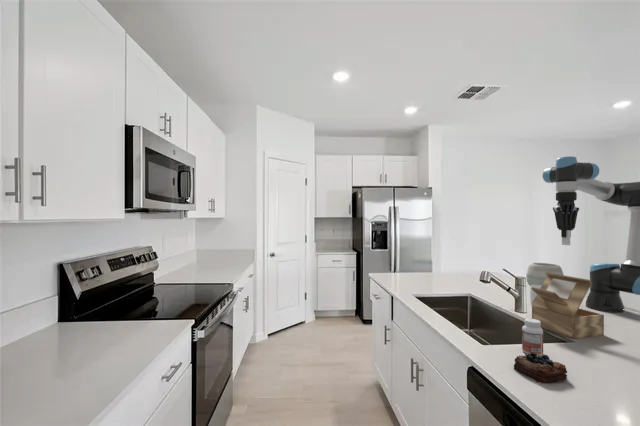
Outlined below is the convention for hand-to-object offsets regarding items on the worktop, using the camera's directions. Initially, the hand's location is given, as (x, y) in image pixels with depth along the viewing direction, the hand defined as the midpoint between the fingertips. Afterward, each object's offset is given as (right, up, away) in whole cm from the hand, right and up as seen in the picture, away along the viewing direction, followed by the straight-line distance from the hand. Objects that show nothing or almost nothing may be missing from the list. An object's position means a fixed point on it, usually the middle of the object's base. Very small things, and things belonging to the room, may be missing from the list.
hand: (566, 244), depth 149 cm
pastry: (-44, -34, -49) cm, 74 cm away
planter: (+6, -35, +24) cm, 43 cm away
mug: (-2, -35, +12) cm, 37 cm away
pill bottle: (-36, -34, -34) cm, 60 cm away
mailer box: (-7, -34, -10) cm, 36 cm away
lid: (-10, -20, -10) cm, 24 cm away
